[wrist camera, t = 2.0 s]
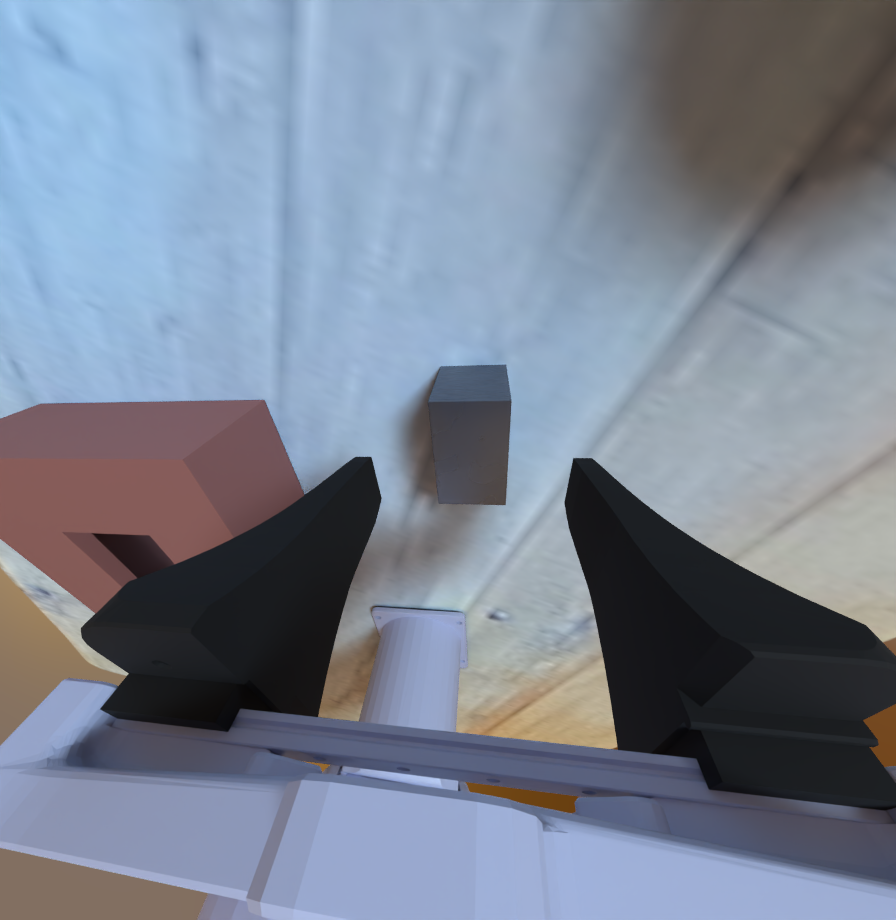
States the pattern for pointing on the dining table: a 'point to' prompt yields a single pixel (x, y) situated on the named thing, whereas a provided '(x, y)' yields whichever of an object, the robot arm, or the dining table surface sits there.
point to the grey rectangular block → (471, 433)
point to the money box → (136, 486)
